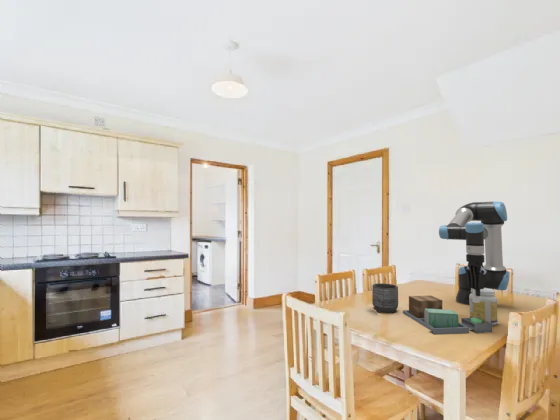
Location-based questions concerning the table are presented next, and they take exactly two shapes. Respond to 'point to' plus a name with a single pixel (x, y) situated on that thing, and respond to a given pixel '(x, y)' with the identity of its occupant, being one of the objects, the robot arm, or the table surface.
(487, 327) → the square metal sleeve
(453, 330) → the grey divided tray
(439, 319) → the box
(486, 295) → the supplement tub
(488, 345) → the table surface
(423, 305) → the walnut block
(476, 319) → the button
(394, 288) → the planter
